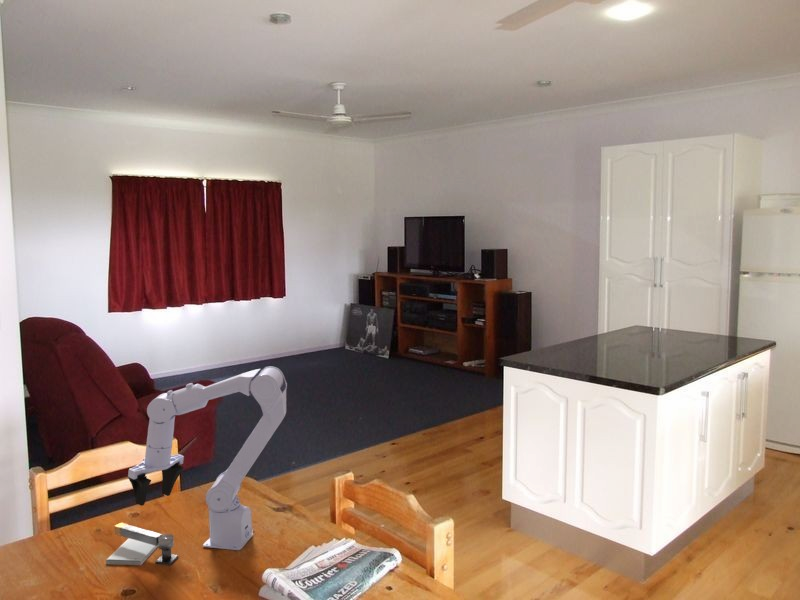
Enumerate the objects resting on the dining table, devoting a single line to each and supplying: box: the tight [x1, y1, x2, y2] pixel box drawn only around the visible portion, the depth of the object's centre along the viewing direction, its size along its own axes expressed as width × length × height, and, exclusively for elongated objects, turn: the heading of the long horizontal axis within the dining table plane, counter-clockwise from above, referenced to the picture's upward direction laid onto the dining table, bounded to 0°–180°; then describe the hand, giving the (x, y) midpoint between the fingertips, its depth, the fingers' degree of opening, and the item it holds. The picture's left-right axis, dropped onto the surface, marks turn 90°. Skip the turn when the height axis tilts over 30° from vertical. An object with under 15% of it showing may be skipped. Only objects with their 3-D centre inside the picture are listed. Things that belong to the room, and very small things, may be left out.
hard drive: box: [105, 538, 159, 566], centre depth 151 cm, size 2×8×12 cm
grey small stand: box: [154, 548, 179, 566], centre depth 146 cm, size 4×4×3 cm
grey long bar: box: [113, 522, 175, 551], centre depth 149 cm, size 17×3×2 cm, turn 64°
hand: (153, 499), depth 154 cm, fingers open, 7 cm apart
